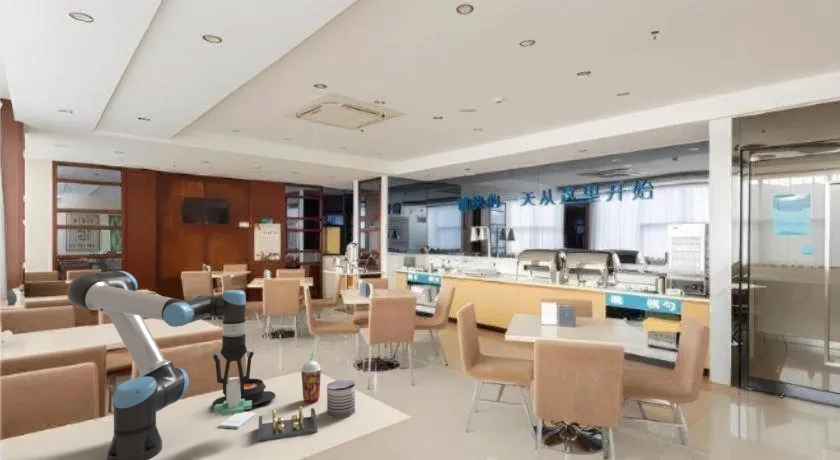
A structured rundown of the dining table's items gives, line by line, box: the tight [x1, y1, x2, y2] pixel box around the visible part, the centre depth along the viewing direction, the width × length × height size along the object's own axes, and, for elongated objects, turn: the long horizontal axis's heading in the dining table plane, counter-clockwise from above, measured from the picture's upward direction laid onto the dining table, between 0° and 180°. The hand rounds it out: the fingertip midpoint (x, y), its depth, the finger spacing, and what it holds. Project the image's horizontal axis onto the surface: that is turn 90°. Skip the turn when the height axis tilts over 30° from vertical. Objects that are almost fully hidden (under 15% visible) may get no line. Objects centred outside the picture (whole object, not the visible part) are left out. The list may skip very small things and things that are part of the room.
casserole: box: [211, 378, 276, 408], centre depth 184 cm, size 25×19×8 cm
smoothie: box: [300, 353, 322, 404], centre depth 186 cm, size 8×8×20 cm
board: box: [213, 376, 253, 416], centre depth 152 cm, size 12×10×10 cm
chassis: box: [258, 405, 318, 442], centre depth 158 cm, size 20×11×6 cm, turn 110°
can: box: [326, 378, 356, 419], centre depth 174 cm, size 11×11×12 cm
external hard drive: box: [218, 411, 257, 430], centre depth 166 cm, size 2×8×12 cm
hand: (233, 400), depth 152 cm, fingers closed on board, 3 cm apart
